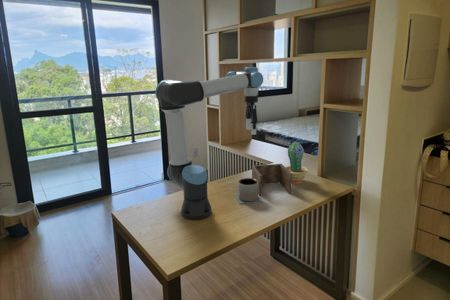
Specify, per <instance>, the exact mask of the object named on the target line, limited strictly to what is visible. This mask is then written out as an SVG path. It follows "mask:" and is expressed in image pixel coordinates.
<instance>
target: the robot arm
mask: <svg viewBox="0 0 450 300" xmlns="http://www.w3.org/2000/svg"><path fill="white" fill-rule="evenodd" d="M263 83H264V75H263V74H262V73H261V72H260V71H259V68H258V67H257V66H246V67H245V68H244V70H241V71H240V70H237V71H234V70H233V71H228V72H227V73H226V75H225V76H224V77H218V78H214V79H213V78H212V79H208V80H204V81H199V80H191V81H186V80H175V79H165V80H161V81H160V82H158V84H157V86H156V88H155V91H154V92H155V93H154V94H155V97H156V99H157V101H158V102H159V104H160V110H161V111H162V112H163V113H164V116H165V125H166V130H167V138H168V143H169V144H168V145H169V151H170V157H171V159H170V160H169V162H168V167H167V173H166V174H167V177H168V178H169V180H170V181H171V182H172V183H173V184H175V185H177V186H178V187H180V188H181V189H182V190H183V201H182V206H181V208H180V215H181V217H182V218H183V219H186V220H191V221H192V220H193V221H195V220H196V221H197V220H199V221H200V220H204V219H206V218H208V217H210V216H211V214H212V210H213V209H212V205H211V203H210V201H209V198H208V175H207V174H208V173H207V169H206V168H205V167H203V166H202V165H199V164H198V165H197V164H193V162H192V161H193V160H192V158H191V157H190V156H189V153H188V152H189V151H188V145H187V144H188V143H187V137H186V129H185V121H184V113H183V111H184V109H185V108H186V106H189V105H192V104H196V103H201V102H202V101H204V99H206V98H211V97H215V96H220V95H224V94H228V93H232V92H235V91H240V90H244V102H245V103H246V106H245V109H246V110H245V115H244V116H245V120H246V122H245V126H246V127H245V128H246V131H250V130H251V131H250V133H251V135H253V136H254V135H257V123H258V113H257V112H258V111H257V105H256V103H258V102H259V96H258V95H259V90H260V89H259V88H260V87H261V86H262V84H263Z"/></svg>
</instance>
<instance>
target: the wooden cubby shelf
mask: <svg viewBox="0 0 450 300" xmlns="http://www.w3.org/2000/svg"><path fill="white" fill-rule="evenodd" d="M251 178H252V179H256V180H257V181H258V197H262V192H263V191H262V188H263V187H262V185H269V184H270V185H271V184H280V185H281V186H282V187H283V188H284V190H285V191H286V192H287V193H288V194H289V195H291V194H292V173H291V172H290V171H289V170H288V169H287V168H285V165H283V164H282V163H275V164H274V163H273V164H256V165H251Z"/></svg>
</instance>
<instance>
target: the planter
mask: <svg viewBox="0 0 450 300" xmlns="http://www.w3.org/2000/svg"><path fill="white" fill-rule="evenodd" d="M237 183H238V184H237V185H238V187H237V193H238V198H239V199H240V200H242V201H247V202H249V201H254V200H256V199H257V198H258V197H259V195H258V181H257V180H256V179H252V177H251V178H250V177H244V178H241V179H239V180H238V182H237Z"/></svg>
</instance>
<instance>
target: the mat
mask: <svg viewBox="0 0 450 300" xmlns="http://www.w3.org/2000/svg"><path fill="white" fill-rule="evenodd" d="M235 198H236V200H237V203H238V204H239V205H246V204H258V203H260V202H261V203H262V200H261V198H260V196H258V198H257V199H256V200H254V201H249V202H247V201H242V200H240V199H239V198H238V194H237V193H236V194H235Z"/></svg>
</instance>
